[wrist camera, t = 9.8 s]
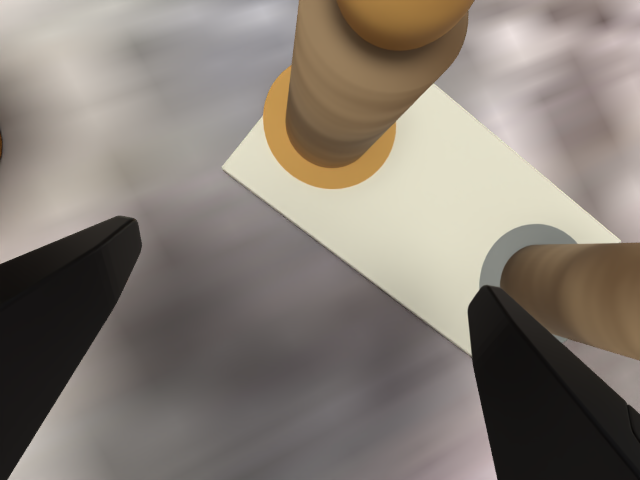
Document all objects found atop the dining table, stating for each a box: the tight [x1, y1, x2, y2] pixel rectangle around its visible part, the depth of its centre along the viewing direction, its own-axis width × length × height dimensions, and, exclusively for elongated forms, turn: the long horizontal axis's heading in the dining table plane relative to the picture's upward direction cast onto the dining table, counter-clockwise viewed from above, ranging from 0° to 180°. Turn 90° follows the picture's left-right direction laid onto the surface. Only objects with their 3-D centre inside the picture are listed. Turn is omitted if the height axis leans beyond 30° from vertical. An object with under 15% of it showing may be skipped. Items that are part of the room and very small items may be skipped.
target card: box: [222, 65, 621, 357], centre depth 20 cm, size 11×22×1 cm, turn 53°
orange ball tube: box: [285, 0, 475, 168], centre depth 12 cm, size 5×5×12 cm
